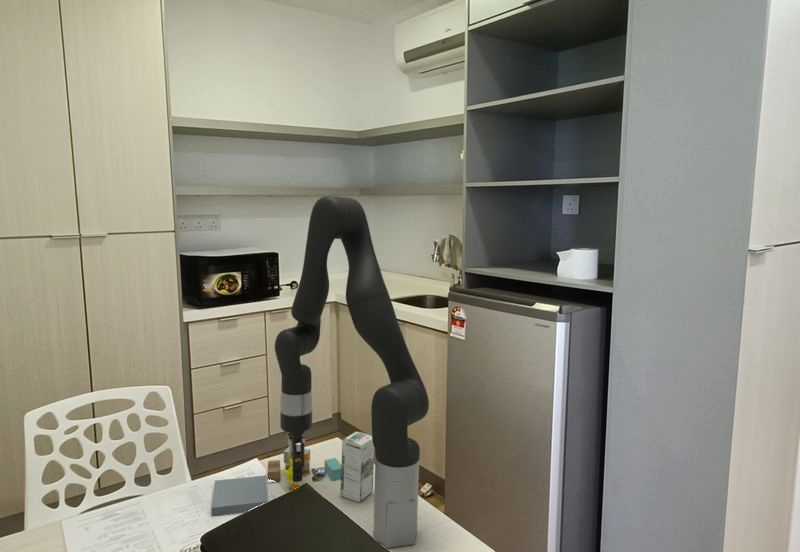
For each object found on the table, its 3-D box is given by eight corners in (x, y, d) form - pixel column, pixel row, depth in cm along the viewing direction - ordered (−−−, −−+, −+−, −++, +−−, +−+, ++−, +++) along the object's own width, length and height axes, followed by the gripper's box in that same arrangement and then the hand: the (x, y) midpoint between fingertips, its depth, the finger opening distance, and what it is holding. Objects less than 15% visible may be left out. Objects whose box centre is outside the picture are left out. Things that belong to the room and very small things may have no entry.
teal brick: (343, 479, 137) (343, 467, 136) (332, 481, 136) (332, 470, 135) (335, 468, 142) (335, 457, 142) (324, 470, 141) (324, 459, 140)
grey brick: (310, 460, 140) (310, 449, 139) (305, 465, 137) (305, 454, 136) (288, 457, 141) (288, 446, 141) (283, 462, 138) (283, 451, 138)
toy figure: (311, 486, 133) (312, 439, 131) (306, 493, 129) (307, 446, 128) (285, 482, 134) (285, 437, 132) (280, 490, 130) (280, 443, 129)
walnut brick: (279, 482, 134) (279, 471, 134) (267, 483, 134) (267, 472, 133) (280, 470, 140) (280, 460, 140) (268, 471, 139) (268, 460, 139)
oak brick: (308, 468, 142) (308, 457, 141) (309, 474, 139) (309, 463, 138) (285, 470, 140) (285, 459, 140) (285, 476, 137) (285, 465, 137)
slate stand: (267, 509, 122) (267, 501, 122) (211, 516, 119) (211, 507, 118) (266, 482, 133) (266, 475, 133) (215, 488, 130) (214, 480, 130)
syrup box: (353, 485, 133) (354, 430, 131) (373, 492, 130) (375, 436, 128) (339, 496, 128) (341, 438, 126) (360, 503, 125) (361, 444, 124)
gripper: (315, 419, 123) (314, 485, 125) (309, 397, 136) (308, 457, 139) (282, 421, 121) (281, 489, 123) (278, 399, 135) (278, 460, 137)
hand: (296, 472), depth 131 cm, fingers open, 8 cm apart
